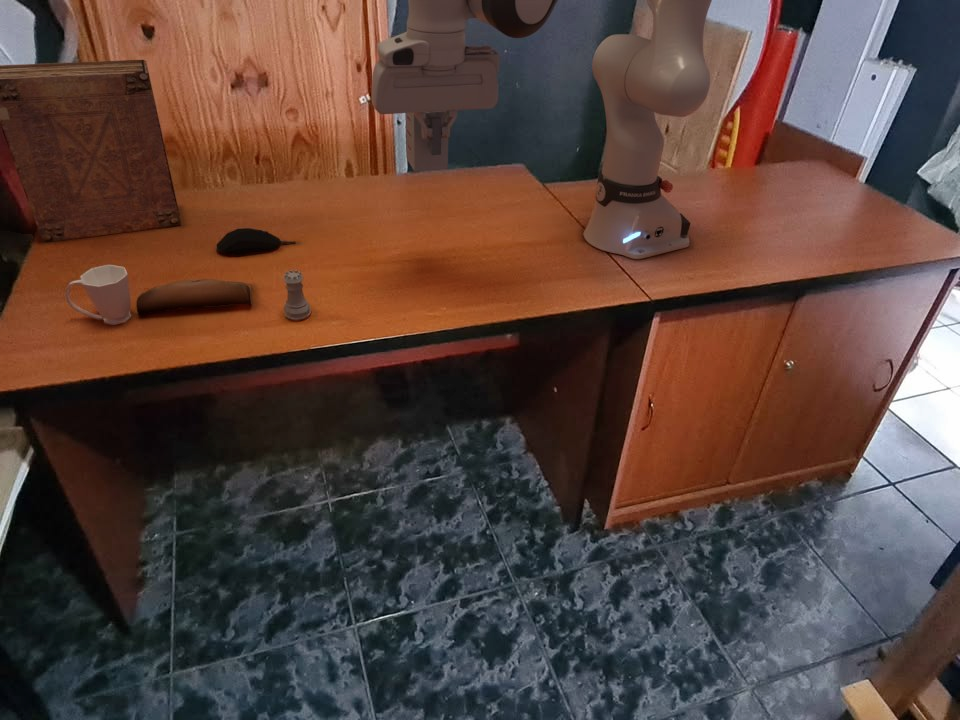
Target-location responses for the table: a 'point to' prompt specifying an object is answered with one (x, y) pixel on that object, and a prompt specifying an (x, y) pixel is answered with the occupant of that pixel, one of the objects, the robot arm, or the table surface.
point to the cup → (105, 293)
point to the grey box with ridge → (426, 143)
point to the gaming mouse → (248, 242)
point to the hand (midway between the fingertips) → (435, 137)
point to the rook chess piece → (295, 297)
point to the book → (88, 147)
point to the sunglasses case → (194, 295)
